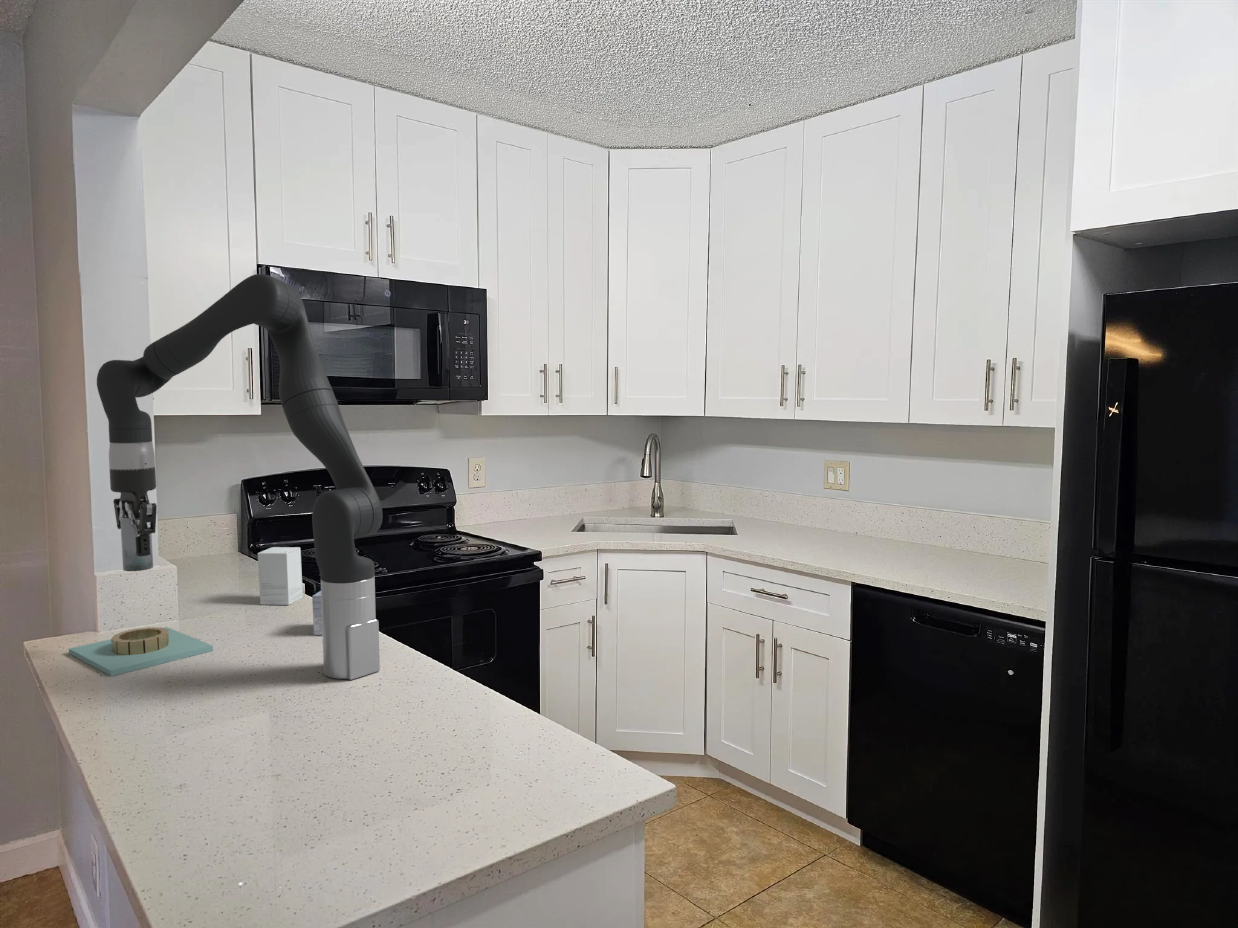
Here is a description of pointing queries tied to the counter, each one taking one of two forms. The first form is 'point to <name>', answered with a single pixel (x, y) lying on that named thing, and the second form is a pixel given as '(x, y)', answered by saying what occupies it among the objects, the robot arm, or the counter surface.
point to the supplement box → (280, 575)
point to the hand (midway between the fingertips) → (137, 553)
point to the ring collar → (140, 641)
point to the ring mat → (118, 664)
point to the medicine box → (317, 613)
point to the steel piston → (133, 549)
